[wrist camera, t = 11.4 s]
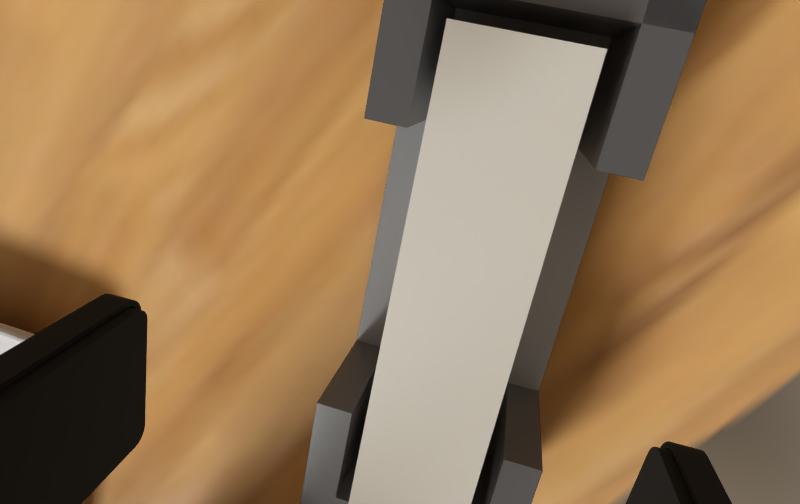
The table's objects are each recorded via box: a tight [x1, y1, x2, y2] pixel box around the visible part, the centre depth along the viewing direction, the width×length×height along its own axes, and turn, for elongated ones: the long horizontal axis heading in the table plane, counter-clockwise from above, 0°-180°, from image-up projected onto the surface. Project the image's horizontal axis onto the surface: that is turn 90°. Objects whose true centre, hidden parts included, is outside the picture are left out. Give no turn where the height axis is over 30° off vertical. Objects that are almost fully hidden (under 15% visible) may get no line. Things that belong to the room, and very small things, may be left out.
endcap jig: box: [300, 0, 707, 504], centre depth 20 cm, size 20×8×6 cm, turn 170°
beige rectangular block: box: [349, 18, 607, 504], centre depth 19 cm, size 16×4×6 cm, turn 170°
